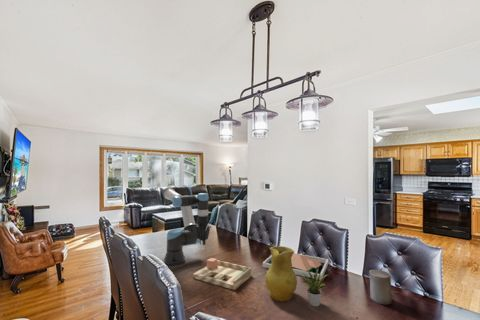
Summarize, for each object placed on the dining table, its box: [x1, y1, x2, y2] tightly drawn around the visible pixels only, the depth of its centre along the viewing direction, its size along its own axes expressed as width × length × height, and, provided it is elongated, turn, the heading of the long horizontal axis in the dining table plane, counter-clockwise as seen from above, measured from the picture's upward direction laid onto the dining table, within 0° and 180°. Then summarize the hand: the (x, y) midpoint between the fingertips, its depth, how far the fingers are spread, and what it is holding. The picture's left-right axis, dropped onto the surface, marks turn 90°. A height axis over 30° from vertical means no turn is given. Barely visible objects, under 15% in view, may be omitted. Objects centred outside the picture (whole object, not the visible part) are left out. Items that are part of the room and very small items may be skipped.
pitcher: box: [265, 245, 298, 302], centre depth 128 cm, size 17×19×25 cm
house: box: [291, 252, 323, 273], centre depth 167 cm, size 23×33×8 cm
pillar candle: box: [369, 269, 393, 305], centre depth 123 cm, size 10×10×15 cm
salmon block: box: [206, 257, 218, 269], centre depth 157 cm, size 5×5×5 cm
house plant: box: [301, 268, 328, 307], centre depth 120 cm, size 14×14×16 cm
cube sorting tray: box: [192, 259, 252, 291], centre depth 148 cm, size 31×21×5 cm
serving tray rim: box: [262, 252, 329, 281], centre depth 167 cm, size 40×30×3 cm
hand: (202, 249), depth 162 cm, fingers closed
